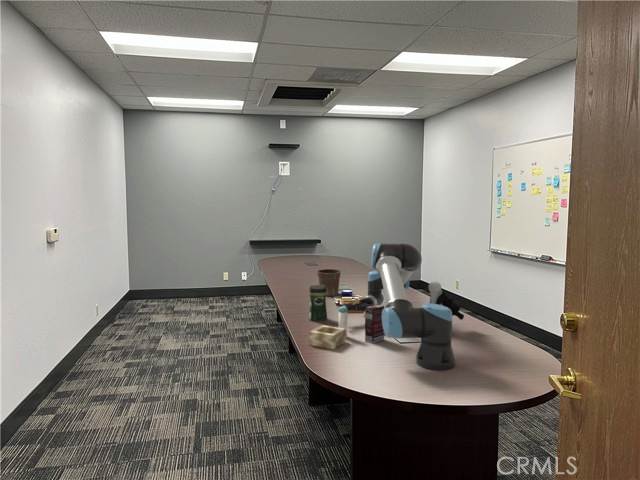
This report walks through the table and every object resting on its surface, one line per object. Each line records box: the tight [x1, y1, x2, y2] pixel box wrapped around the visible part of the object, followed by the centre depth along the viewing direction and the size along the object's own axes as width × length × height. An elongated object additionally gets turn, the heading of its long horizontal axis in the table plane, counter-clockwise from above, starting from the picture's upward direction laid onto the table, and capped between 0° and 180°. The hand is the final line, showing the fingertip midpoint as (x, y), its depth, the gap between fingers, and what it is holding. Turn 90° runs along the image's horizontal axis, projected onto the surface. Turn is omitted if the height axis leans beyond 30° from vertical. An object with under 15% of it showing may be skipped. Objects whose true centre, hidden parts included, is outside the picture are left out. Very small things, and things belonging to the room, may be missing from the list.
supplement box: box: [364, 304, 385, 344], centre depth 213 cm, size 9×5×16 cm, turn 134°
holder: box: [308, 324, 346, 350], centre depth 209 cm, size 12×12×6 cm
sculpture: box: [428, 281, 465, 321], centre depth 228 cm, size 15×24×25 cm, turn 110°
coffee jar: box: [308, 284, 328, 322], centre depth 249 cm, size 10×8×19 cm
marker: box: [338, 307, 348, 339], centre depth 218 cm, size 4×4×14 cm
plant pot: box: [316, 268, 342, 297], centre depth 311 cm, size 16×16×16 cm
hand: (351, 313), depth 227 cm, fingers open, 13 cm apart
